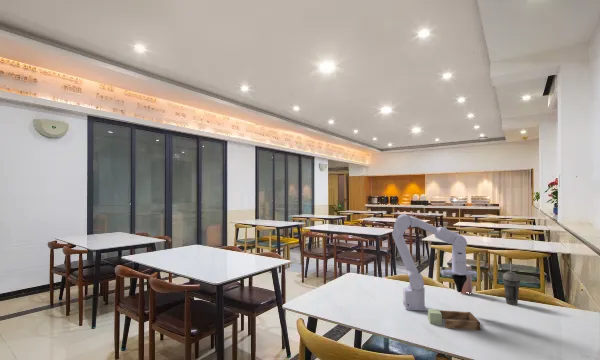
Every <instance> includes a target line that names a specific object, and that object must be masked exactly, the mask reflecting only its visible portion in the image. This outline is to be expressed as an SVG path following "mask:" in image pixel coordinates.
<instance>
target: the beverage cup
mask: <svg viewBox="0 0 600 360" xmlns="http://www.w3.org/2000/svg"><path fill="white" fill-rule="evenodd" d="M502 275H503V276H502V282H503V287H504V296H505V302H506V304H507V305H509V306H518V302H519V292H520V284H521V279H520V276H519V274H518V273H516V272H515V271H512V261H509V270H508V271H506V272H504V274H502Z"/></svg>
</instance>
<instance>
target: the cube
mask: <svg viewBox="0 0 600 360" xmlns="http://www.w3.org/2000/svg"><path fill="white" fill-rule="evenodd" d="M440 310H441V309H437V308H436V309H435V308H434V309H433V308H427V320H428V322H429V324H430V325H442V324H443V321H442V320H443V319H442V314H441V312H440Z"/></svg>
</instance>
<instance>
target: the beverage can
mask: <svg viewBox="0 0 600 360" xmlns="http://www.w3.org/2000/svg"><path fill="white" fill-rule="evenodd" d="M466 271H472V265H471V264H467V263H466ZM466 277H467V280H466V282H465V283H464V285H463V288H462V292H461V293H460V294H462V295H464V294H465V296H470V295H471V294H473V292H472V291H473V290H472V289H473V288H472V286H473V285H472V284H473V283H472V277H473V276H466ZM466 292H469V294H468V293H466ZM470 293H471V294H470Z"/></svg>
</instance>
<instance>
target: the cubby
mask: <svg viewBox="0 0 600 360" xmlns="http://www.w3.org/2000/svg"><path fill="white" fill-rule="evenodd" d="M439 310H440V312H441V314H442V320H443V319H444V320H445V323H444V325H445V328H446V329H456V330H459V329H460V330H471V331H472V330H473V331H481V321H479V319H477V318H476V317H475V316H474V314H473V313H472V312H470V311H456V310H441V309H439Z"/></svg>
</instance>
